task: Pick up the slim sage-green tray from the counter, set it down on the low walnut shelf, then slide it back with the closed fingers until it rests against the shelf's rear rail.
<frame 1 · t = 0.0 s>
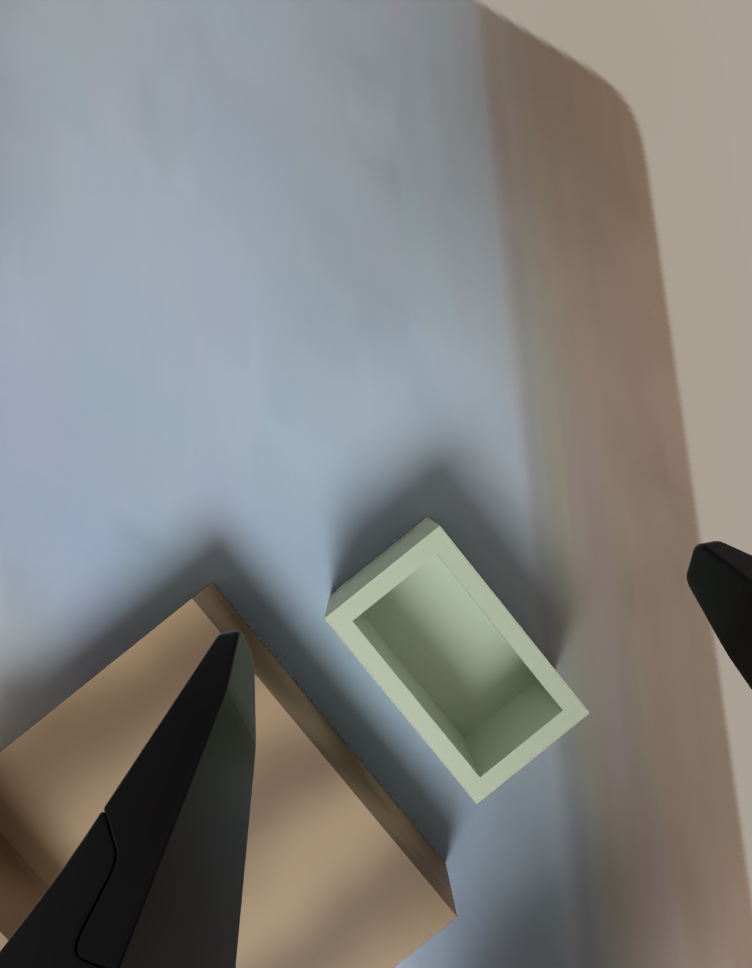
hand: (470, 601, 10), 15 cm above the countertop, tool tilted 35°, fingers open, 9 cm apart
walnut shelf: (218, 816, 25), on the countertop
sage tray: (443, 634, 25), on the countertop
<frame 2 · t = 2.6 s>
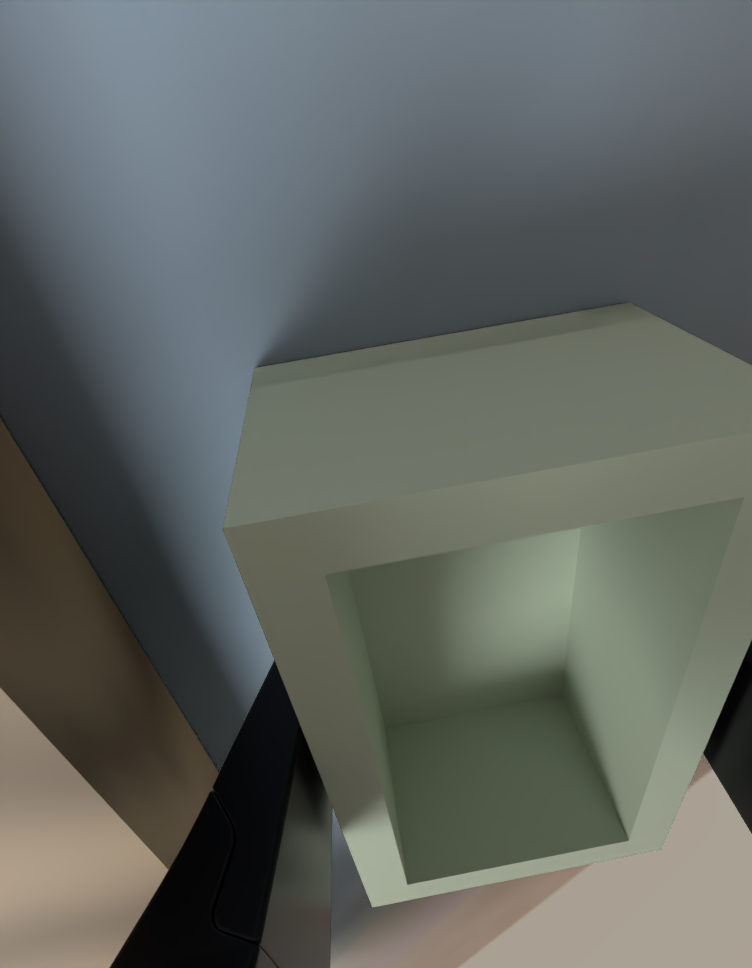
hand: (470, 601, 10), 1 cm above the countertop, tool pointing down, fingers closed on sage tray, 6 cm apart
sage tray: (457, 565, 11), on the countertop, touching gripper
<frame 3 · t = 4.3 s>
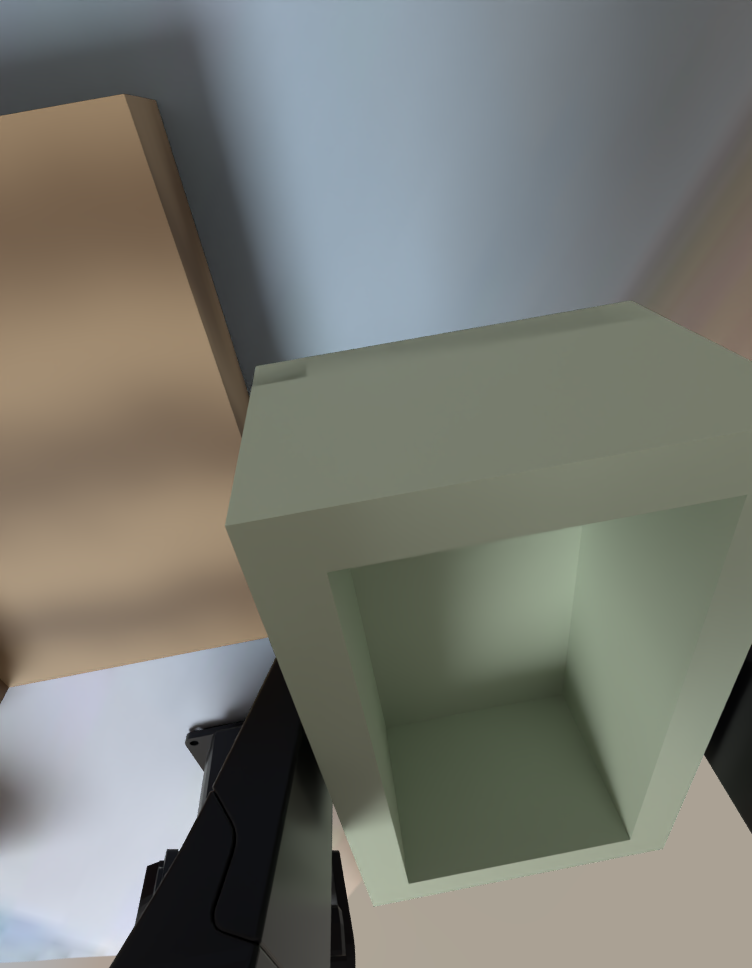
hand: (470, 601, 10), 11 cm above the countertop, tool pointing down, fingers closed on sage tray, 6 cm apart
walnut shelf: (61, 440, 19), on the countertop
sage tray: (458, 564, 11), point 10 cm above the countertop, touching gripper
when the fingers open (5 cm above the countertop, at t = 6.3 s): sage tray drops 1 cm, resting on walnut shelf.
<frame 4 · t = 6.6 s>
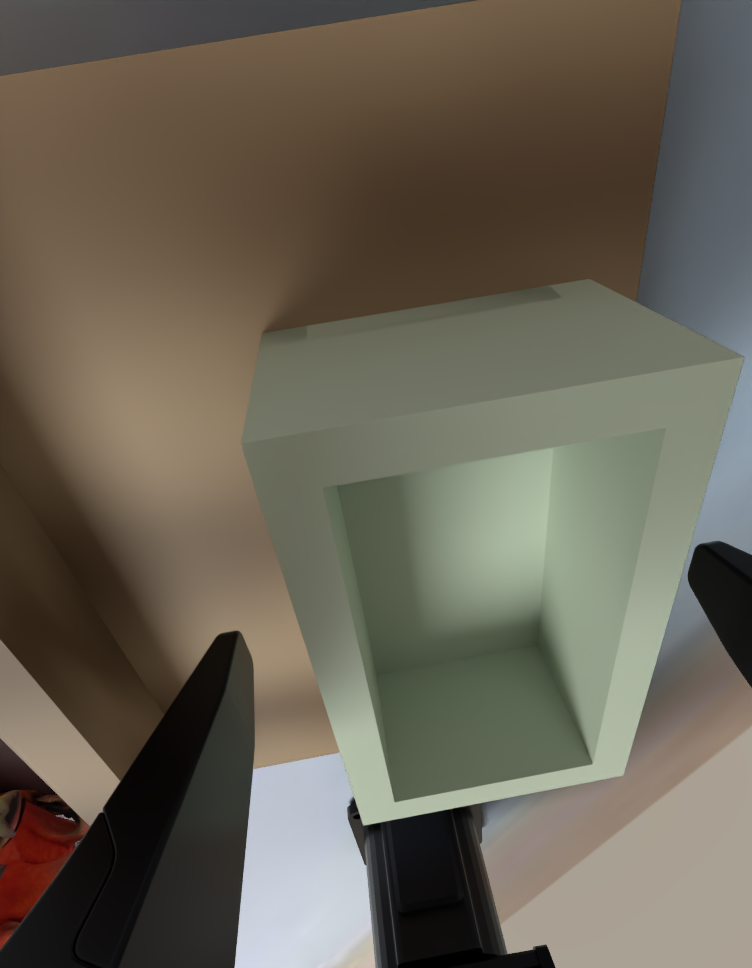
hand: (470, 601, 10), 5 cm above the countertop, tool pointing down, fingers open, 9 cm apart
walnut shelf: (313, 474, 15), on the countertop
sage tray: (442, 520, 12), point 3 cm above the countertop, touching walnut shelf
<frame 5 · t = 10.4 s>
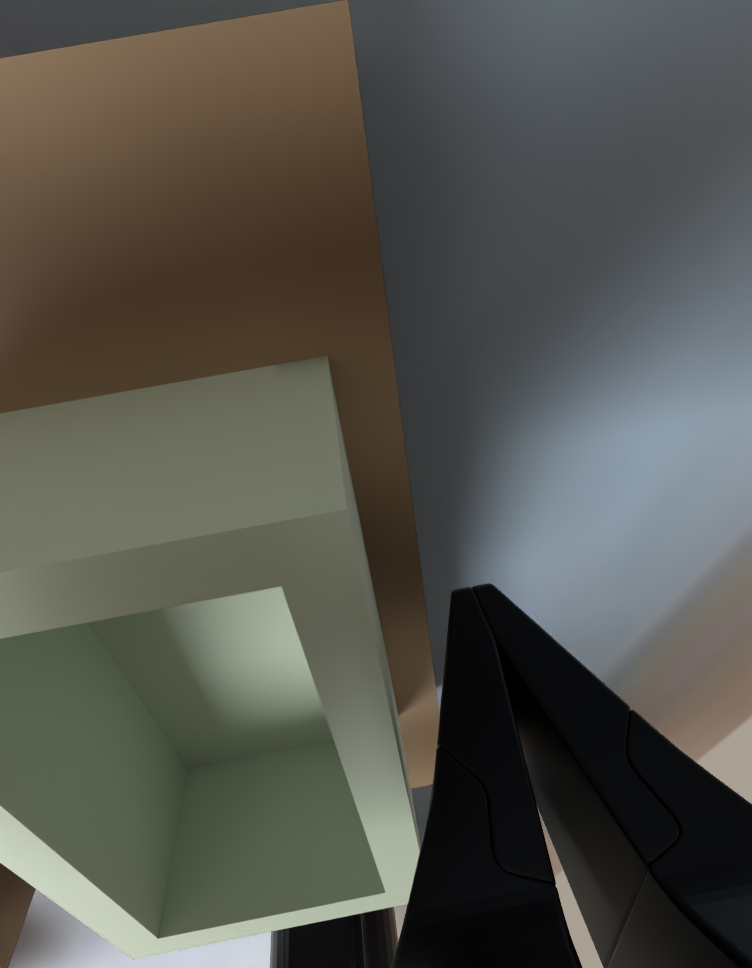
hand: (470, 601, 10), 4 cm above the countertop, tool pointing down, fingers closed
walnut shelf: (129, 542, 13), on the countertop
sage tray: (230, 609, 11), point 3 cm above the countertop, touching gripper
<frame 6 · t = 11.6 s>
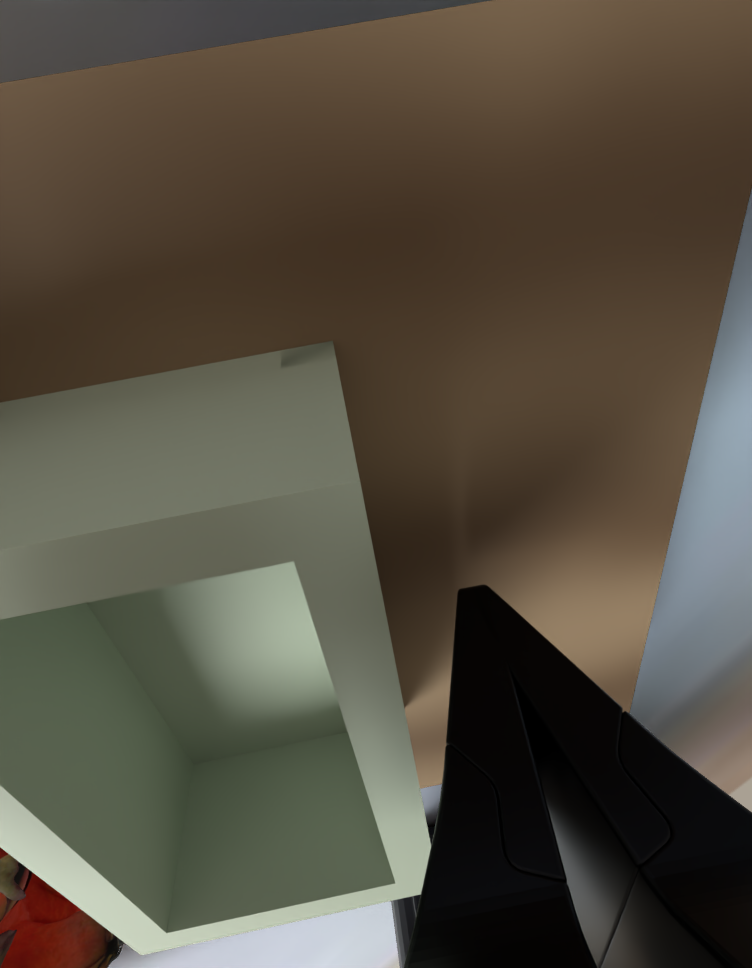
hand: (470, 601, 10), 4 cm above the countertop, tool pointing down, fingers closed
walnut shelf: (345, 506, 14), on the countertop
sage tray: (236, 600, 11), point 3 cm above the countertop, touching gripper, walnut shelf
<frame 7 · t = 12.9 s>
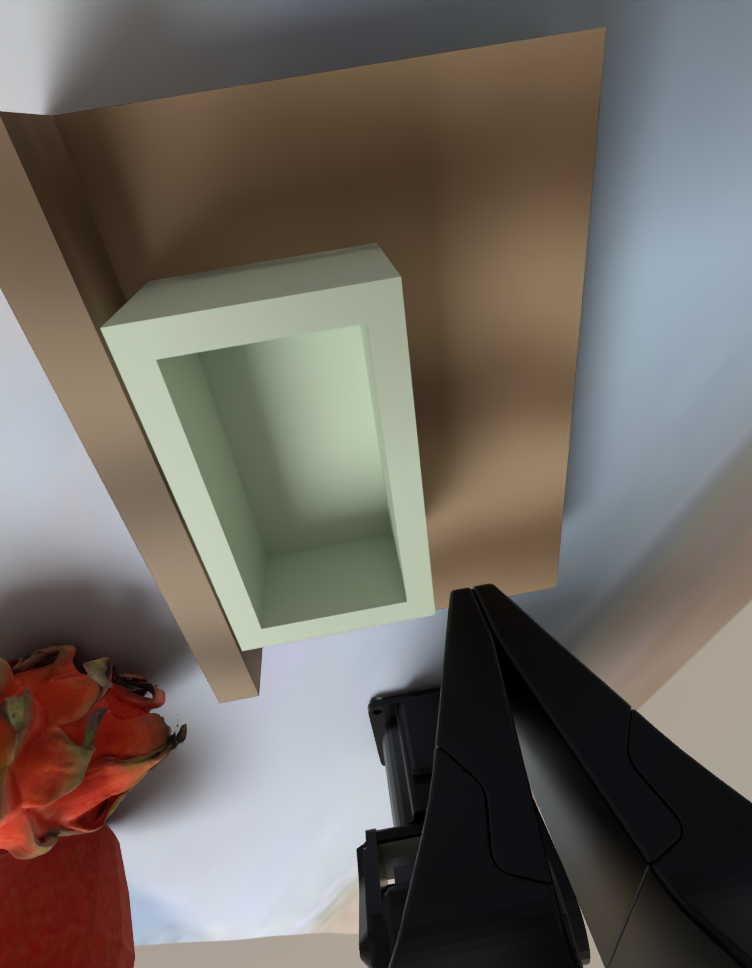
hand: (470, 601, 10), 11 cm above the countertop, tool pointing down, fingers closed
dragon fruit: (72, 667, 26), on the countertop
apple: (72, 812, 33), on the countertop
walnut shelf: (352, 391, 19), on the countertop
sage tray: (304, 429, 16), point 3 cm above the countertop, touching walnut shelf
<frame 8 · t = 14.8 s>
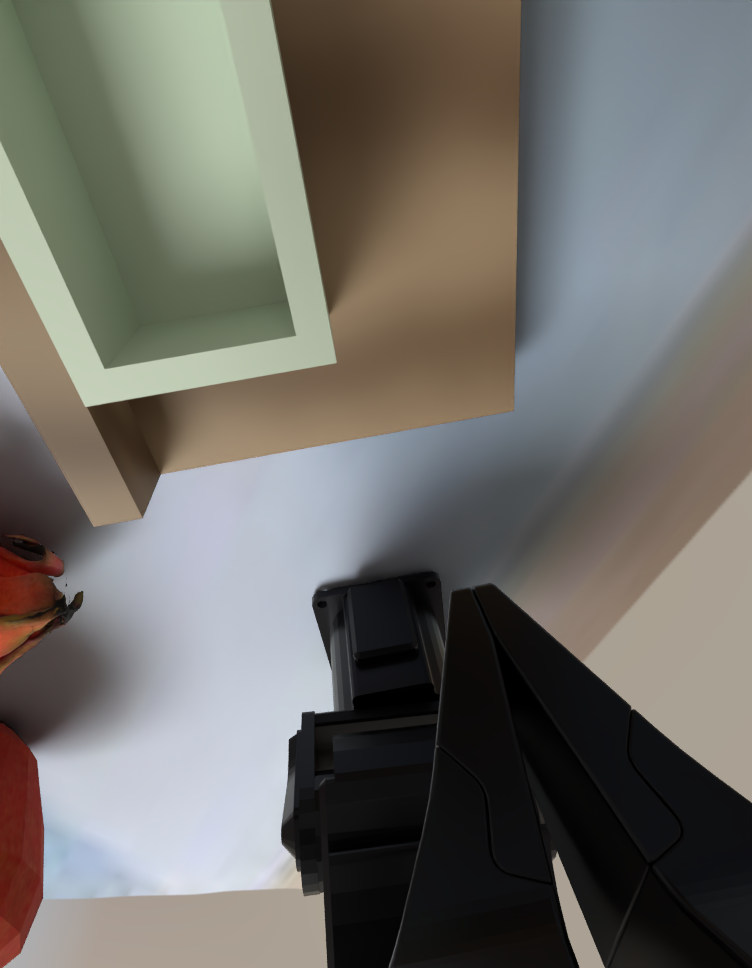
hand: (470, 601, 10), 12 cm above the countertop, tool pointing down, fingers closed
walnut shelf: (254, 138, 15), on the countertop
sage tray: (170, 132, 13), point 3 cm above the countertop, touching walnut shelf
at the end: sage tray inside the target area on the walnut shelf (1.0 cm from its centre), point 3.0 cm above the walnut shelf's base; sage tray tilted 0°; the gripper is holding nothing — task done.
